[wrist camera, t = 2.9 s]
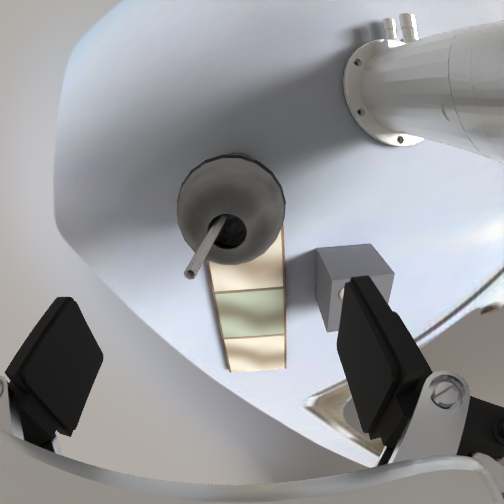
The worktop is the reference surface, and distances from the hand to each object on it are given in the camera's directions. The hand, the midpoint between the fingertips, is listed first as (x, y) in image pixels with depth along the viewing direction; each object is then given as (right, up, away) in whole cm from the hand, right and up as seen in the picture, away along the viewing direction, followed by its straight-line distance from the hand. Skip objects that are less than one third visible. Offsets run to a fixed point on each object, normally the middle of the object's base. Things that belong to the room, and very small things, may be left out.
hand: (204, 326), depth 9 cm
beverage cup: (0, +11, +20) cm, 23 cm away
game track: (+1, -5, +28) cm, 29 cm away
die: (+13, 0, +26) cm, 29 cm away
